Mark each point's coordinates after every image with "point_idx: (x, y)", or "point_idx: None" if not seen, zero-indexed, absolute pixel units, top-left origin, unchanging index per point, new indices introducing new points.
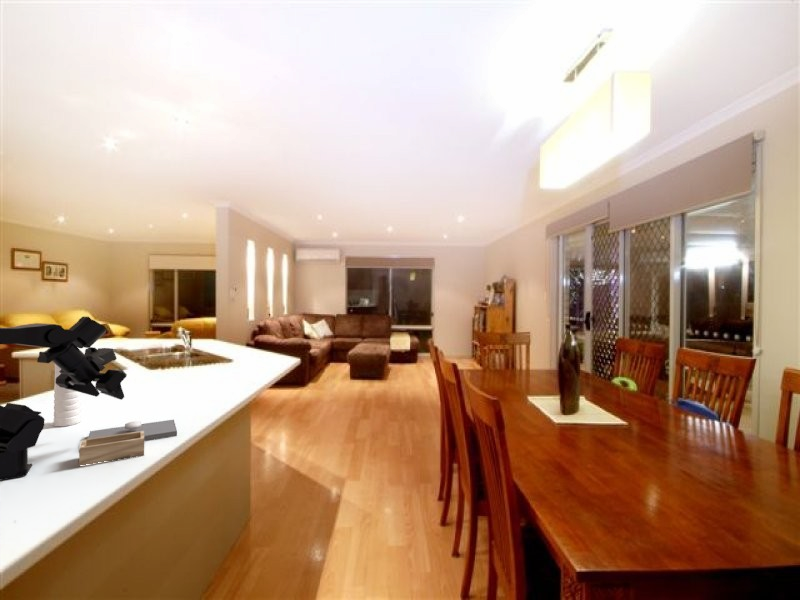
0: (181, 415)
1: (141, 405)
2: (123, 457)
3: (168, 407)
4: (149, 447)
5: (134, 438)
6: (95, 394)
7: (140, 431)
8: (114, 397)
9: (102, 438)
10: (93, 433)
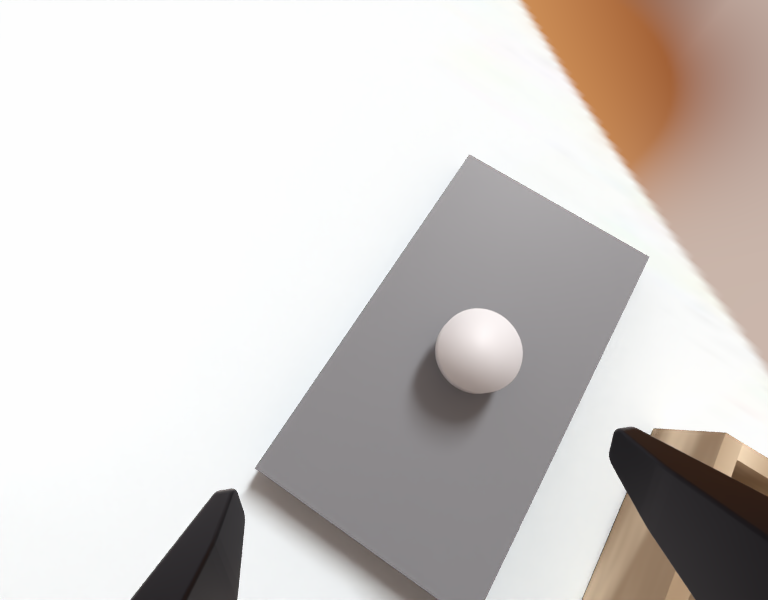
0: (374, 76)
1: (31, 46)
2: None
3: (200, 21)
4: (679, 418)
5: None
6: (235, 550)
7: (728, 454)
8: (673, 564)
9: None
10: (314, 483)
